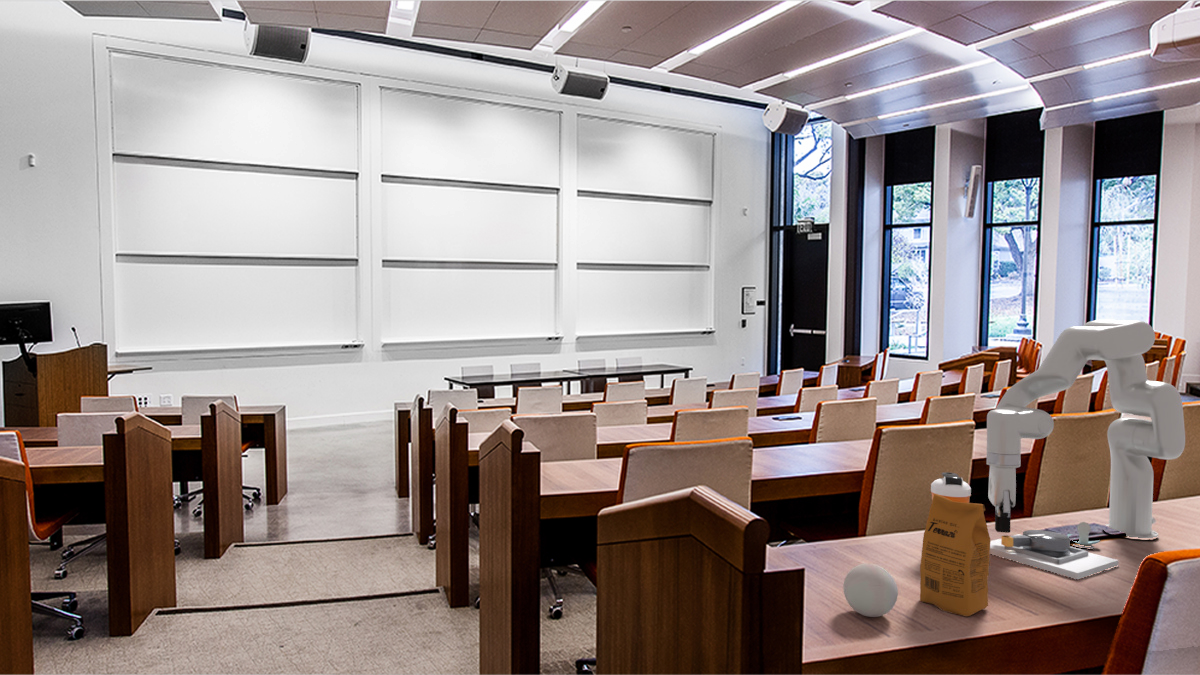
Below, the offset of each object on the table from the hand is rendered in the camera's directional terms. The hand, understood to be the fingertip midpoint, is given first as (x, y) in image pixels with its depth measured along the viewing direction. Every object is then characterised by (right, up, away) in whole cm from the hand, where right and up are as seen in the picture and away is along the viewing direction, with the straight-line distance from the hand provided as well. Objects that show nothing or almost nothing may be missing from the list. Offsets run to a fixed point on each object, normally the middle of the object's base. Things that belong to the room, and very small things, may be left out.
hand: (1002, 531), depth 192 cm
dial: (+4, -3, -7) cm, 9 cm away
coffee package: (-29, -6, -36) cm, 47 cm away
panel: (+7, -5, -6) cm, 11 cm away
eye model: (-48, -6, -42) cm, 64 cm away
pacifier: (+22, -5, +4) cm, 23 cm away
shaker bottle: (-16, -5, -5) cm, 17 cm away
